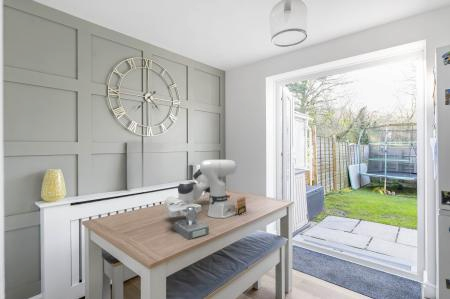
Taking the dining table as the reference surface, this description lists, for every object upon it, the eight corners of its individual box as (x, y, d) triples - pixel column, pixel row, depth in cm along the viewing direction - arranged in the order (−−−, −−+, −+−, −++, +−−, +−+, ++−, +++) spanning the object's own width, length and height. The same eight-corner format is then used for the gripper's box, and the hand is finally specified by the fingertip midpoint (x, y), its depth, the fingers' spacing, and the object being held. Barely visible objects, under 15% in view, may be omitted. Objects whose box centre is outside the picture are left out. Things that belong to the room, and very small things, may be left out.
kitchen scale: (192, 225, 144) (193, 217, 144) (209, 234, 130) (209, 225, 130) (173, 229, 136) (173, 221, 136) (188, 240, 122) (188, 231, 122)
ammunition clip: (237, 216, 163) (238, 198, 163) (235, 215, 165) (236, 198, 164) (245, 212, 172) (246, 196, 172) (243, 211, 173) (244, 195, 173)
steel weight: (192, 221, 137) (192, 206, 136) (196, 223, 133) (197, 208, 133) (184, 223, 134) (184, 207, 133) (189, 225, 130) (189, 209, 129)
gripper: (194, 209, 150) (206, 215, 139) (164, 215, 137) (175, 222, 126) (194, 200, 149) (207, 205, 139) (164, 205, 137) (175, 210, 126)
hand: (191, 213), depth 132 cm, fingers open, 5 cm apart
